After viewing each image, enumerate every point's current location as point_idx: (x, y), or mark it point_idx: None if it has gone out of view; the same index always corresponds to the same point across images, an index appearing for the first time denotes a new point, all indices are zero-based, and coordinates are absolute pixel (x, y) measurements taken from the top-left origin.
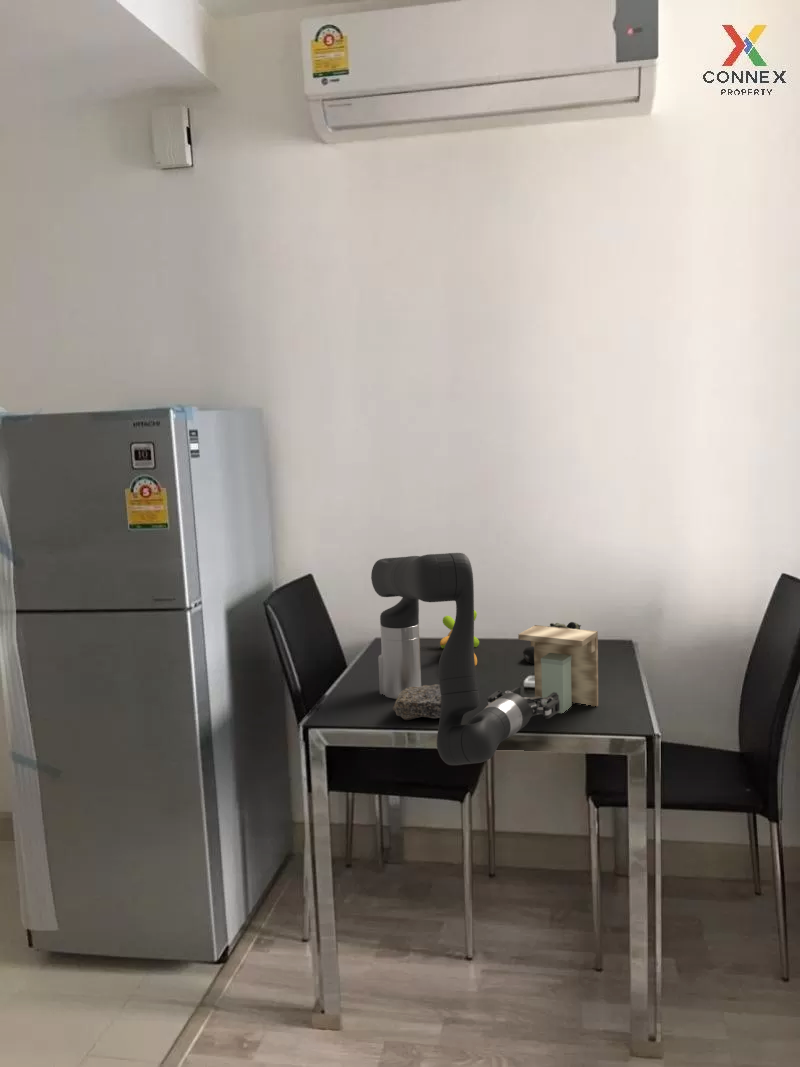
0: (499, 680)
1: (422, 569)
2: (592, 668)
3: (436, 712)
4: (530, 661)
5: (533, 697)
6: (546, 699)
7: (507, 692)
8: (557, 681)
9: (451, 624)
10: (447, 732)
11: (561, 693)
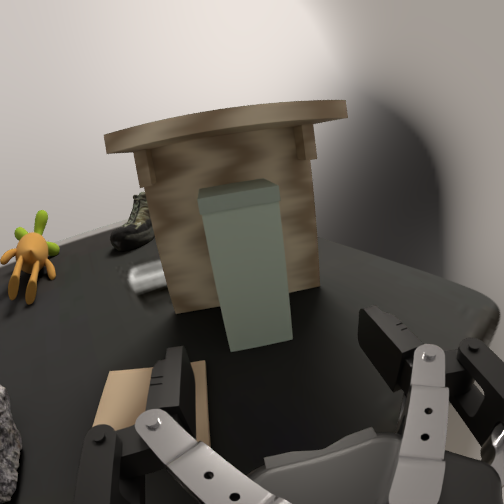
0: (89, 293)
1: None
2: (305, 204)
3: None
4: (123, 248)
5: (415, 427)
6: (444, 378)
7: (154, 435)
8: (267, 259)
9: (22, 235)
10: None
11: (283, 290)
